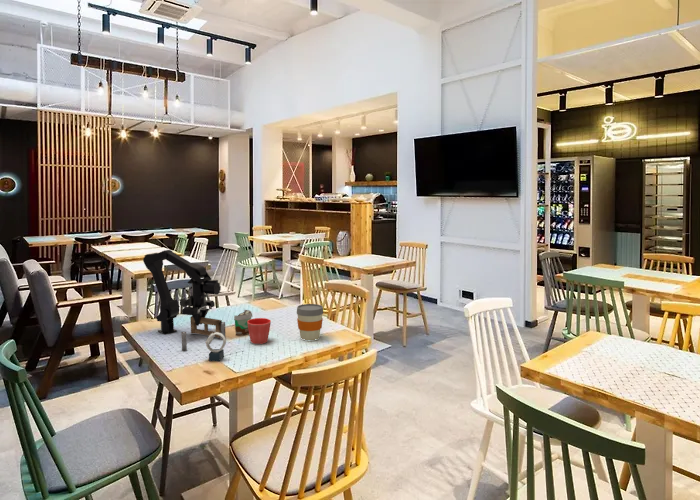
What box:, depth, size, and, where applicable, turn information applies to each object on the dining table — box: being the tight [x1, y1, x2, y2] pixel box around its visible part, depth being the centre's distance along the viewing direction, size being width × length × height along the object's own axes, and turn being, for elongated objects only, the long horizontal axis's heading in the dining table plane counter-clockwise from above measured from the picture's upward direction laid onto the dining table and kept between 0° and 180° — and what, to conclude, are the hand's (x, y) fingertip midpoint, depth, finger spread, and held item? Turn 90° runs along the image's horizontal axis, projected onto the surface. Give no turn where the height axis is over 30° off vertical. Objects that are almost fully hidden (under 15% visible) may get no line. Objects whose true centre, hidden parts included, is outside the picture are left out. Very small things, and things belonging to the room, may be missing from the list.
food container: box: [233, 309, 253, 336], centre depth 223 cm, size 12×6×10 cm, turn 168°
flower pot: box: [247, 317, 272, 345], centre depth 211 cm, size 11×11×10 cm
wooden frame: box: [189, 315, 223, 339], centre depth 217 cm, size 2×17×8 cm, turn 66°
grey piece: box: [180, 321, 227, 352], centre depth 206 cm, size 2×22×8 cm, turn 141°
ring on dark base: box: [205, 331, 227, 362], centre depth 188 cm, size 6×8×11 cm
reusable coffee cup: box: [296, 303, 324, 341], centre depth 217 cm, size 13×13×15 cm
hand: (199, 324), depth 219 cm, fingers closed on wooden frame, 2 cm apart
